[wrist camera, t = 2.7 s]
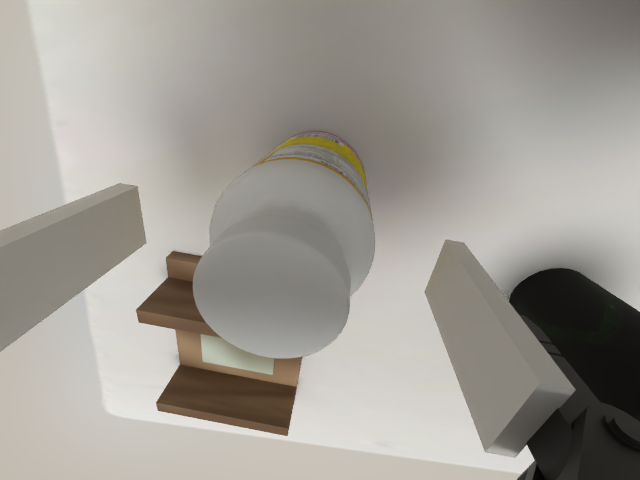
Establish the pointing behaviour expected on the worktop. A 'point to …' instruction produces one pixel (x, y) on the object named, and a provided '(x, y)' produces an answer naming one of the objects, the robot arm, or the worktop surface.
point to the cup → (587, 332)
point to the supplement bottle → (288, 249)
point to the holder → (217, 363)
